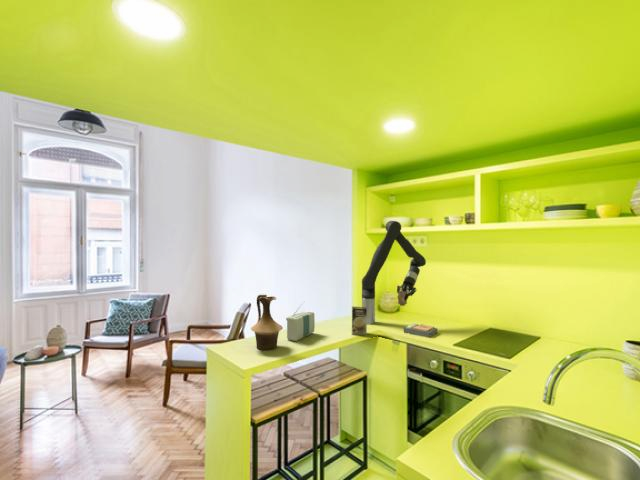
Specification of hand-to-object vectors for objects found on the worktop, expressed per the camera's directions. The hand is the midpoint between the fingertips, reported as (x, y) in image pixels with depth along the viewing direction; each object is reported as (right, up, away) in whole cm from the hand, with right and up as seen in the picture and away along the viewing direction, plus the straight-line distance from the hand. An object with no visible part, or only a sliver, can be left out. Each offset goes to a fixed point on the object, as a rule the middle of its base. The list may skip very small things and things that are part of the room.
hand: (401, 299), depth 211 cm
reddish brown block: (+1, -4, +1) cm, 4 cm away
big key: (+10, -17, -13) cm, 24 cm away
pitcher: (-83, -18, -40) cm, 94 cm away
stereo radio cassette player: (-66, -19, -20) cm, 71 cm away
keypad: (+9, -19, -12) cm, 24 cm away
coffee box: (-30, -19, -14) cm, 38 cm away
